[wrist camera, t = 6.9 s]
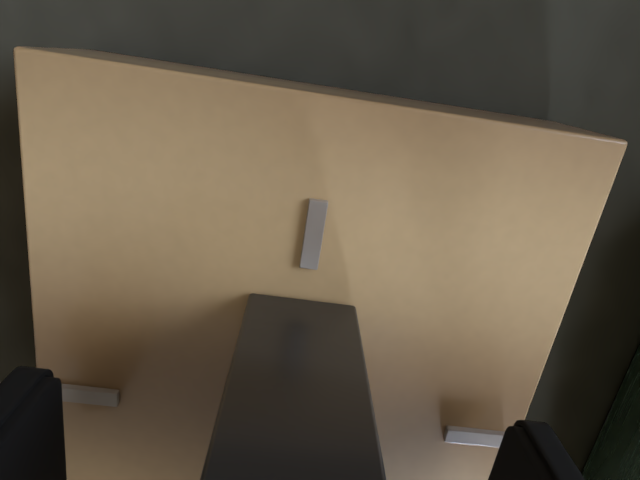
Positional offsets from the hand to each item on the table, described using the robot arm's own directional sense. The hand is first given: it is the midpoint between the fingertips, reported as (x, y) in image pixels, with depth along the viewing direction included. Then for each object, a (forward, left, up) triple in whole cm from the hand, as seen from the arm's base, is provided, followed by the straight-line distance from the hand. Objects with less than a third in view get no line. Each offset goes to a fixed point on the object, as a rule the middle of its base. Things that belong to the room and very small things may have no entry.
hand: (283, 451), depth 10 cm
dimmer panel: (0, 0, -4) cm, 4 cm away
